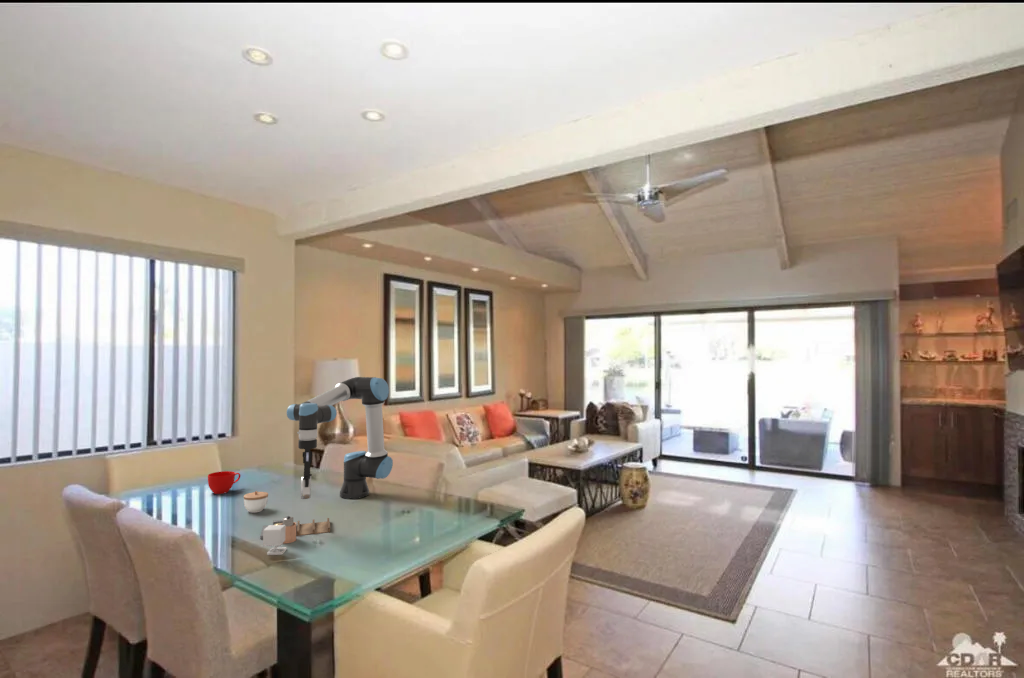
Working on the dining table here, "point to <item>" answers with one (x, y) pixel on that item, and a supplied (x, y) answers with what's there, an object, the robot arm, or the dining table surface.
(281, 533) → the security camera
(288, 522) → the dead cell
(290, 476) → the dining table surface
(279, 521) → the cradle
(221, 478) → the ceramic cup
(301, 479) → the cell
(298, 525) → the trough board
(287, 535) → the octagonal tan cylinder
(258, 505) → the lidded jar
